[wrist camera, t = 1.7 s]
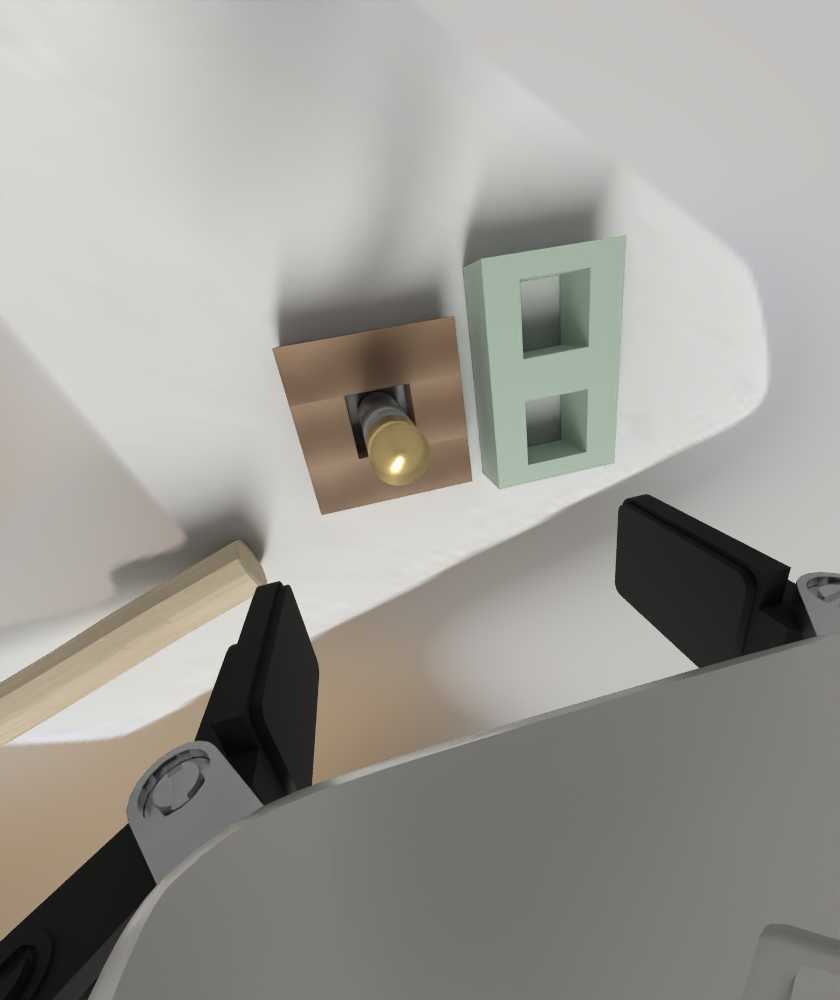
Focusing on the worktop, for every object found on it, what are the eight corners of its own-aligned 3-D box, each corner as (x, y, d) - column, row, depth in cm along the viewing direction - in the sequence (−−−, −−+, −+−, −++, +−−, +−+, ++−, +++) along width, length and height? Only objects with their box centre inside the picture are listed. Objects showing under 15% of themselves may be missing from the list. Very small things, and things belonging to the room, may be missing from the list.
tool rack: (462, 267, 28) (481, 258, 25) (590, 246, 30) (626, 235, 26) (482, 472, 35) (499, 489, 32) (586, 449, 36) (614, 462, 33)
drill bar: (354, 396, 30) (363, 433, 20) (394, 388, 31) (425, 420, 20) (363, 436, 32) (376, 491, 21) (402, 428, 32) (434, 478, 21)
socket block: (279, 346, 28) (272, 348, 25) (441, 317, 29) (454, 316, 26) (323, 497, 33) (321, 514, 30) (459, 467, 34) (472, 480, 31)
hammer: (232, 585, 24) (-375, 953, 18) (274, 635, 26) (-259, 981, 20) (237, 509, 38) (-107, 702, 32) (264, 545, 40) (-54, 734, 34)
